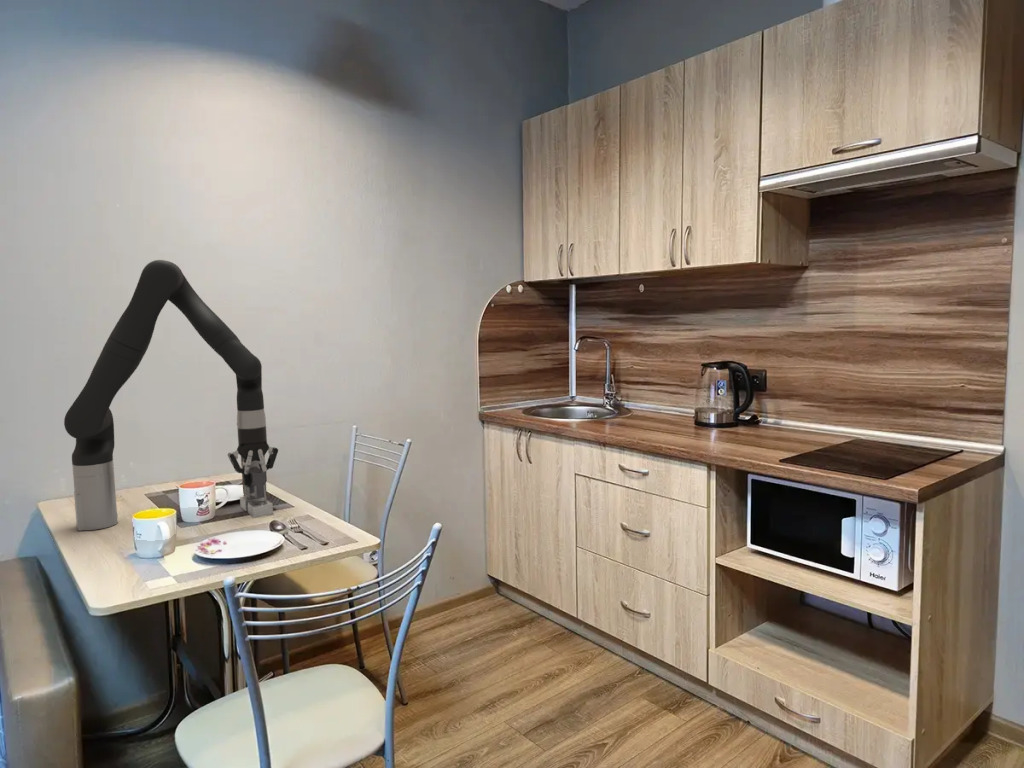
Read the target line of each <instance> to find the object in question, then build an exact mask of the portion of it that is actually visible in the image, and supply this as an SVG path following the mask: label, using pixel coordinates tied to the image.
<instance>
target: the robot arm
mask: <svg viewBox="0 0 1024 768" xmlns="http://www.w3.org/2000/svg"><path fill="white" fill-rule="evenodd" d="M168 301H169V302H171V304H173V305H174V306H175V307H176V308H177V309H178V310H179V311H180V312H181V313H182V314H183V315H184V316H185V318H186V319H187V321H188V322H189V323H190V324H191V325H192V327H193V328H194V330H195V331H196V333H197V334H198V335H199V336H200V337H201V339H203V341H204V342H205V343H206V344H207V345H208V346H209V347H210V348H211V350H213V351H214V352H215V353H216V354H217V355H218V356H220V357H221V358H222V359H223V361H224V363H226V365H228V367H229V368H230V370H232V372H233V373H234V374H235V380H236V387H237V388H236V389H237V392H236V408H237V409H236V410H237V413H236V414H237V415H236V426H237V427H236V429H237V440H238V443H237V444H238V446H237V448H236V450H235V451H233V452H228V453H227V458H228V459H229V461H230V463H231V465H232V467H233V468H234V471H235V472H237V473H238V474H241V475H242V474H243V483H242V485H243V484H244V485H246V487H250V479H249V474H248V473H249V468H250V465H251V462H253V461H257V462H258V464H259V467H260V469H261V470H263V471H265V472H266V473H267V471H268V470H271V469H273V467H274V465H275V462H276V459H277V456H278V452H279V448H277V447H275V446H274V447H273V446H270V445H269V444H268V438H267V437H268V436H267V435H268V434H267V421H266V412H265V404H264V403H265V402H264V400H265V399H264V395H263V394H264V393H263V385H262V383H263V382H262V381H263V380H262V379H263V377H262V376H263V375H262V362H261V360H260V359H259V357H257V356H256V355H254V354H253V353H252V352H251V351H250V350H249V349H248V348H247V347H246V346H245V345H244V344H243V343H242V341H241V340H240V339H239V337H238V336H237V334H236V333H235V332H233V331H232V329H231V328H230V327H229V326H228V325H227V323H225V322H224V321H223V320H222V319H221V318H220V317H219V316H218V314H216V313H215V312H214V311H213V310H212V309H211V308H210V307H209V306H208V304H206V302H205V301H203V300H202V298H201V296H199V295H198V293H197V292H196V290H194V288H193V287H192V285H191V284H190V282H189V281H188V279H187V277H186V276H185V275H184V273H183V271H182V269H181V268H180V267H179V266H178V265H177V264H176V263H174V262H171V261H170V260H164V259H157V260H153V261H152V260H151V261H150V262H149V263H147V264H146V265H145V266H144V267H143V269H142V271H141V273H140V276H139V278H138V282H137V283H136V287H135V289H134V292H133V295H132V297H131V299H130V301H129V303H128V305H127V306H126V309H125V310H124V311H123V313H122V314H121V316H120V317H119V318H118V320H117V322H116V323H115V326H114V328H113V329H112V331H111V333H110V334H109V337H108V338H107V340H106V342H105V343H104V346H103V348H102V350H101V351H100V354H99V356H98V358H97V360H96V362H95V363H94V366H93V367H92V371H91V373H90V375H89V377H88V379H87V382H86V383H85V385H84V386H83V388H82V390H81V391H80V393H79V394H78V396H77V397H76V399H75V400H74V401H73V403H72V404H71V406H70V407H69V408H68V410H67V412H66V413H65V416H64V419H63V420H64V421H63V424H64V429H65V431H66V433H67V435H69V436H70V437H72V438H74V439H75V447H74V449H73V452H72V454H71V464H72V476H73V479H72V480H73V489H74V491H73V496H74V498H73V499H74V510H75V520H76V522H75V523H76V527H77V528H76V529H77V531H78V532H80V531H81V532H82V531H94V530H102V529H106V528H109V527H113V526H115V525H117V524H118V522H119V520H118V507H117V506H118V505H117V494H116V492H117V491H116V481H115V470H114V469H115V468H114V455H113V454H114V450H115V425H114V416H113V413H112V411H111V409H110V406H111V405H112V402H113V400H114V399H115V397H116V395H117V393H118V392H119V391H120V390H121V389H122V387H123V386H124V384H126V383H127V382H128V380H129V379H130V378H131V376H132V375H133V374H134V373H135V372H136V370H137V369H138V367H139V366H140V364H141V362H142V360H143V358H144V357H145V354H146V353H147V350H148V348H149V347H150V343H151V340H152V338H153V335H154V333H155V332H154V330H155V327H156V324H157V320H158V318H159V316H160V314H161V312H162V310H163V309H164V307H165V305H166V304H167V302H168ZM267 452H268V454H269V455H268V458H267V462H266V459H265V460H264V456H266V455H267V454H266V453H267ZM239 455H240V458H241V457H242V458H243V467H241V464H239V462H238V459H239ZM267 477H268V476H267V475H266V482H267V480H268V479H267ZM264 485H265V483H264Z"/></svg>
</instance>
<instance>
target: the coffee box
mask: <svg viewBox="0 0 1024 768" xmlns="http://www.w3.org/2000/svg"><path fill="white" fill-rule="evenodd" d="M265 456H266V455H265ZM265 456H264V460H265V461H266V458H265ZM240 462H241V463H240V467H241V468H242V467H243V458H242V457H241V456H240ZM250 467H257V468H259V469H260V467H259V464H258V462H257V461H253V462H251V465H250ZM241 478H242V479H241V481H242V493H243V494H244V495H243V497H245V496H248V494H252V495H255V492H254V493H249V492H248V489H247V487H246V485H244V484H243V474H242V473H241ZM267 492H268V491H267V482H266V483H265V485H264V497H263V498H264V500H268V497H267V496H268V495H267Z"/></svg>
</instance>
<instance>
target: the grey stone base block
mask: <svg viewBox="0 0 1024 768" xmlns="http://www.w3.org/2000/svg"><path fill="white" fill-rule="evenodd" d="M239 497H240V498H239V499H240V500H239V503H240V508H241V509H242V510H243V511H245V512H247V513H248V515H250V516H251V517H252V518H260V517H264V516H271V515H273V514H274V509H273V508H274V507H273V506H274V505H273V503H272V502H271V501H269V500H268V499H267V500H264V498H263V497H262V498H256V497H255V495H252V494H248V496H245V497H244V496H239Z"/></svg>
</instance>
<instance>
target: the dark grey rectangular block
mask: <svg viewBox="0 0 1024 768" xmlns="http://www.w3.org/2000/svg"><path fill="white" fill-rule="evenodd" d="M248 474H249V479H250V487H247V489H248V492H249V493H254V492H255V497H256V498H262V497H264V483H266V484H267V481H266V476H267V471H266V472H265V471H263V470H261V469H259V468H257V467H250V468H249V473H248Z"/></svg>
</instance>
